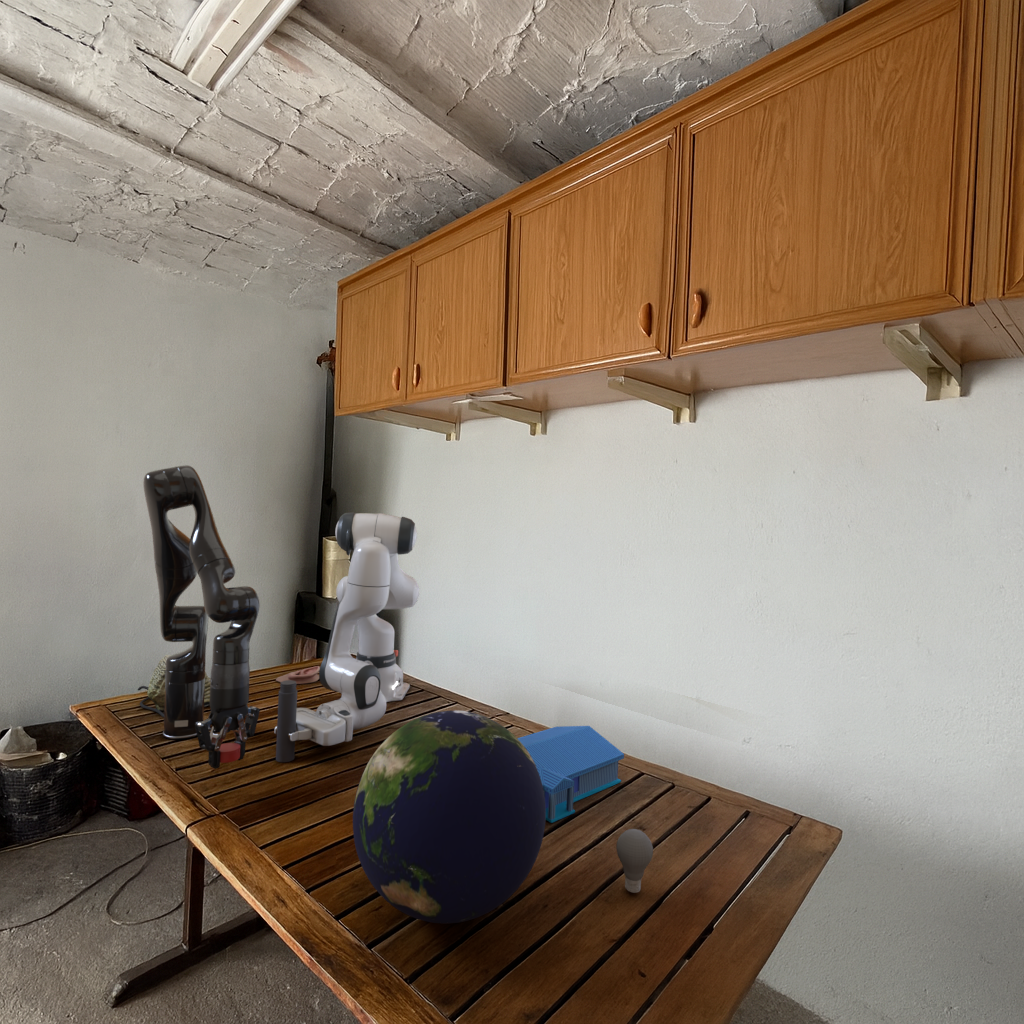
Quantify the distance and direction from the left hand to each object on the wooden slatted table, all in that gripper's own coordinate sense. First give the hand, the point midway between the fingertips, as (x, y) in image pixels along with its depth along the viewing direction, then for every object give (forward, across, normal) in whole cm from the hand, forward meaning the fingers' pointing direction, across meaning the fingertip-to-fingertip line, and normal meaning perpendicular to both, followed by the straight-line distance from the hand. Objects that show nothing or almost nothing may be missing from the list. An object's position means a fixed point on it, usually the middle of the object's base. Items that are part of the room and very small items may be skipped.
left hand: (227, 762), depth 133 cm
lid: (-3, 0, 0) cm, 3 cm away
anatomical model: (+6, +64, +53) cm, 84 cm away
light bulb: (+7, +17, -83) cm, 85 cm away
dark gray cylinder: (+7, +19, +5) cm, 21 cm away
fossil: (+6, +26, +58) cm, 64 cm away
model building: (+7, +40, -52) cm, 66 cm away
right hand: (0, +18, +5) cm, 19 cm away
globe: (+7, -3, -60) cm, 60 cm away
